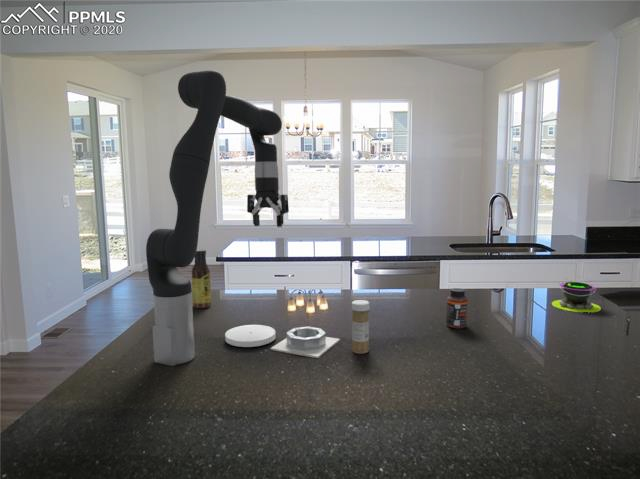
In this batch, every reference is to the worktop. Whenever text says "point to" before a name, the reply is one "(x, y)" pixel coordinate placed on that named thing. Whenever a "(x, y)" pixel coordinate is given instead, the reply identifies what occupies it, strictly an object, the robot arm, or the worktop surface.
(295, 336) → the ring
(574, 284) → the toy cauldron
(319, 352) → the base plate
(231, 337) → the plastic lid
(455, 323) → the supplement bottle
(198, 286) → the sauce bottle
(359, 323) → the sprinkles bottle
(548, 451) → the worktop surface
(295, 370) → the worktop surface
